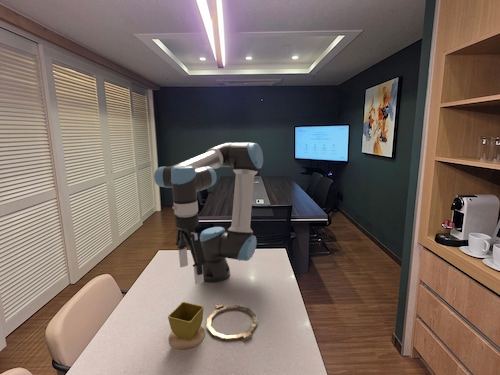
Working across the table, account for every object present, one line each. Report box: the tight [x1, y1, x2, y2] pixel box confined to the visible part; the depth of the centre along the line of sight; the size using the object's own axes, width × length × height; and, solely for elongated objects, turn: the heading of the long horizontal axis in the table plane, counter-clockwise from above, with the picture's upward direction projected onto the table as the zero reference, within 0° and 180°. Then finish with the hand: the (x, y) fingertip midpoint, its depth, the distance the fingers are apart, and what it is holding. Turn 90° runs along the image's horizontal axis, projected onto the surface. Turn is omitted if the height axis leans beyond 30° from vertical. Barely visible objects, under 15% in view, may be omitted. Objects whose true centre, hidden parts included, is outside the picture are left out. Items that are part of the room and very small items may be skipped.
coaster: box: [168, 325, 206, 350], centre depth 96 cm, size 12×12×1 cm
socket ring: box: [206, 303, 258, 343], centre depth 103 cm, size 21×18×2 cm
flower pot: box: [167, 301, 204, 341], centre depth 95 cm, size 9×9×9 cm
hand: (191, 274), depth 96 cm, fingers open, 13 cm apart
